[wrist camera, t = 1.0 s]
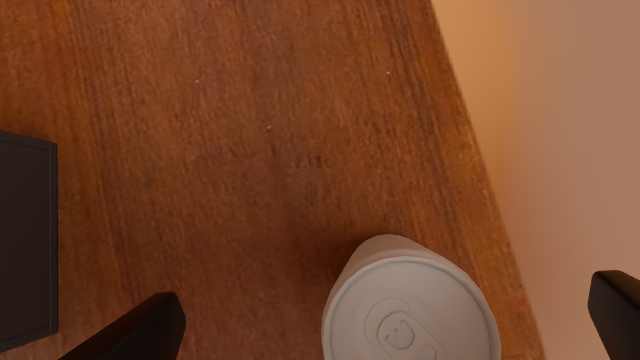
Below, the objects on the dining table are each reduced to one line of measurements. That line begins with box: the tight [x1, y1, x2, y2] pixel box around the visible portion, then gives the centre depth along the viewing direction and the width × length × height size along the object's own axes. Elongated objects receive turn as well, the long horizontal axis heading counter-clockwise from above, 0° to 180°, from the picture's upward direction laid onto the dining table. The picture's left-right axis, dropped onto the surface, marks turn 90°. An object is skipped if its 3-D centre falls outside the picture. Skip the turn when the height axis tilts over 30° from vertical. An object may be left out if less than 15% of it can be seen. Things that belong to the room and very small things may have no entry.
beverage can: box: [321, 234, 501, 360], centre depth 16 cm, size 5×5×12 cm
